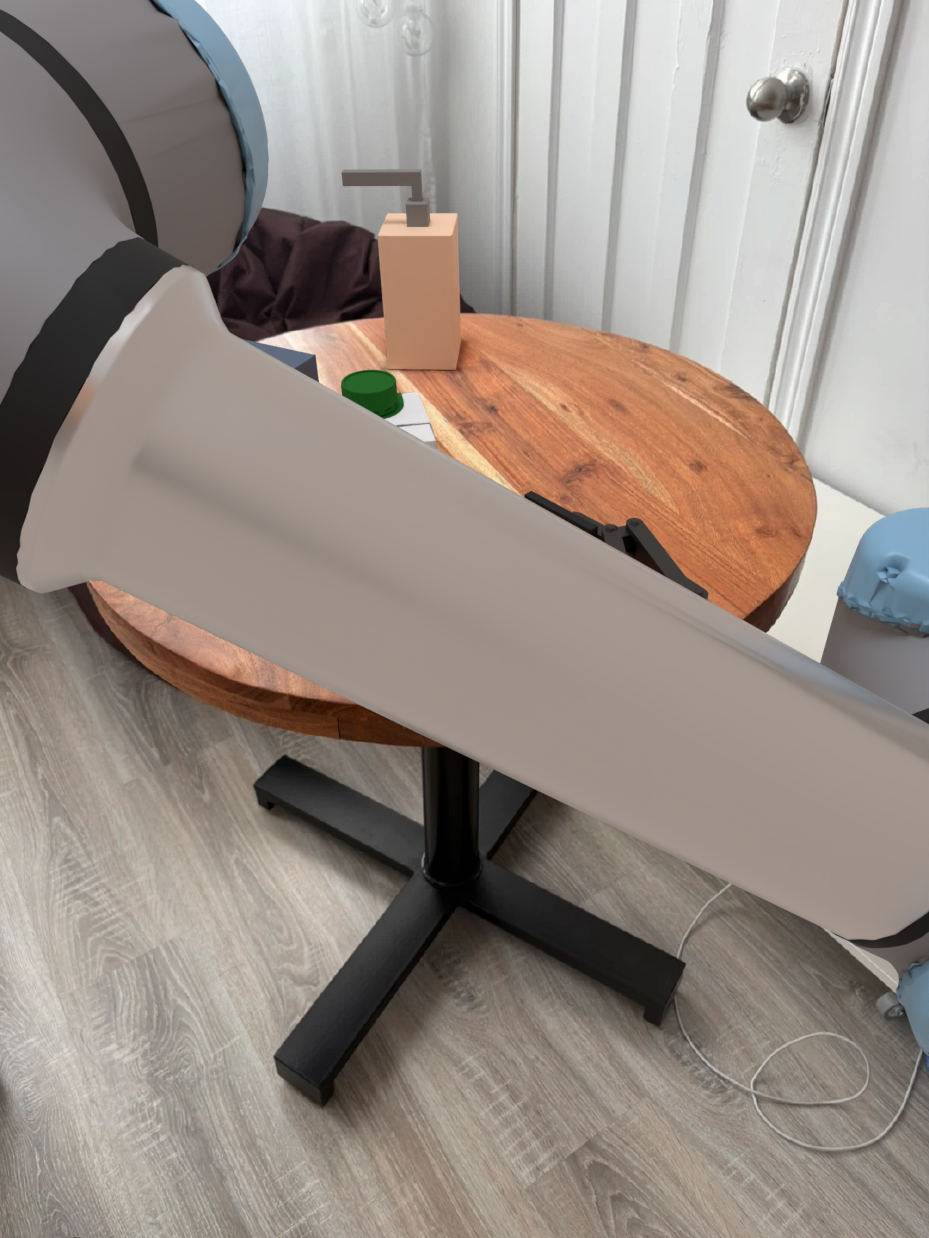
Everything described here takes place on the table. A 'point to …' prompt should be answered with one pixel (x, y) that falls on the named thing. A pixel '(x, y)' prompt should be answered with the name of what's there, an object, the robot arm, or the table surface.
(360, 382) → the milk carton
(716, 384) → the table surface
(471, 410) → the table surface
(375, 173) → the soap dispenser
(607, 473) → the table surface
